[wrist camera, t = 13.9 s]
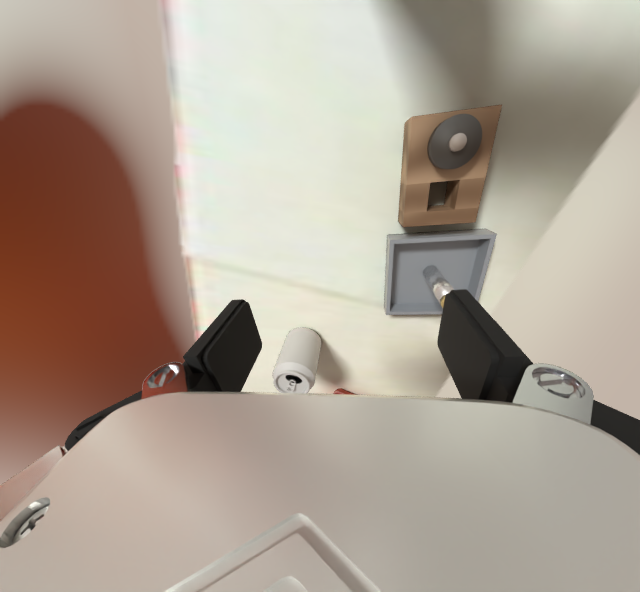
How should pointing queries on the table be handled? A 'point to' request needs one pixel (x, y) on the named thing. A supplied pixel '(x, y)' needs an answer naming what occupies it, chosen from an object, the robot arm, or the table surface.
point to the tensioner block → (446, 164)
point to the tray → (438, 250)
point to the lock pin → (437, 283)
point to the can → (297, 361)
